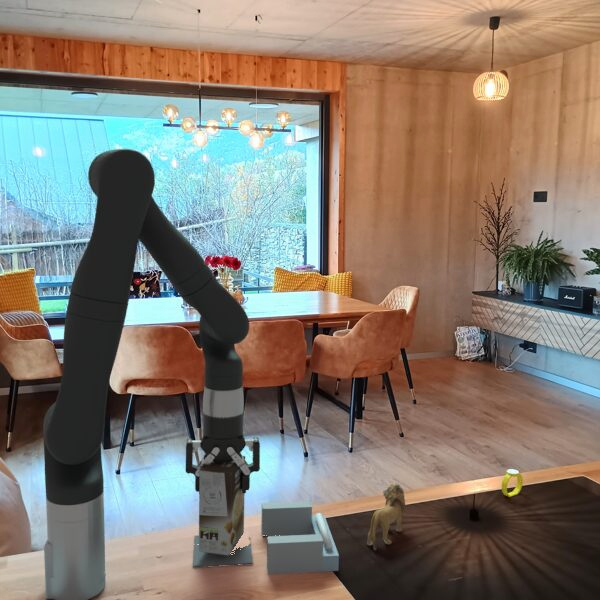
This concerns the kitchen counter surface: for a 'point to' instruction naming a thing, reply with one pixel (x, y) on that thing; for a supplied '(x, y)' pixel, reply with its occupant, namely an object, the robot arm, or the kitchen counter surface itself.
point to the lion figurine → (388, 513)
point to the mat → (221, 556)
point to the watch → (506, 479)
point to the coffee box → (220, 507)
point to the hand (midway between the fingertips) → (222, 492)
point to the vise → (297, 539)
